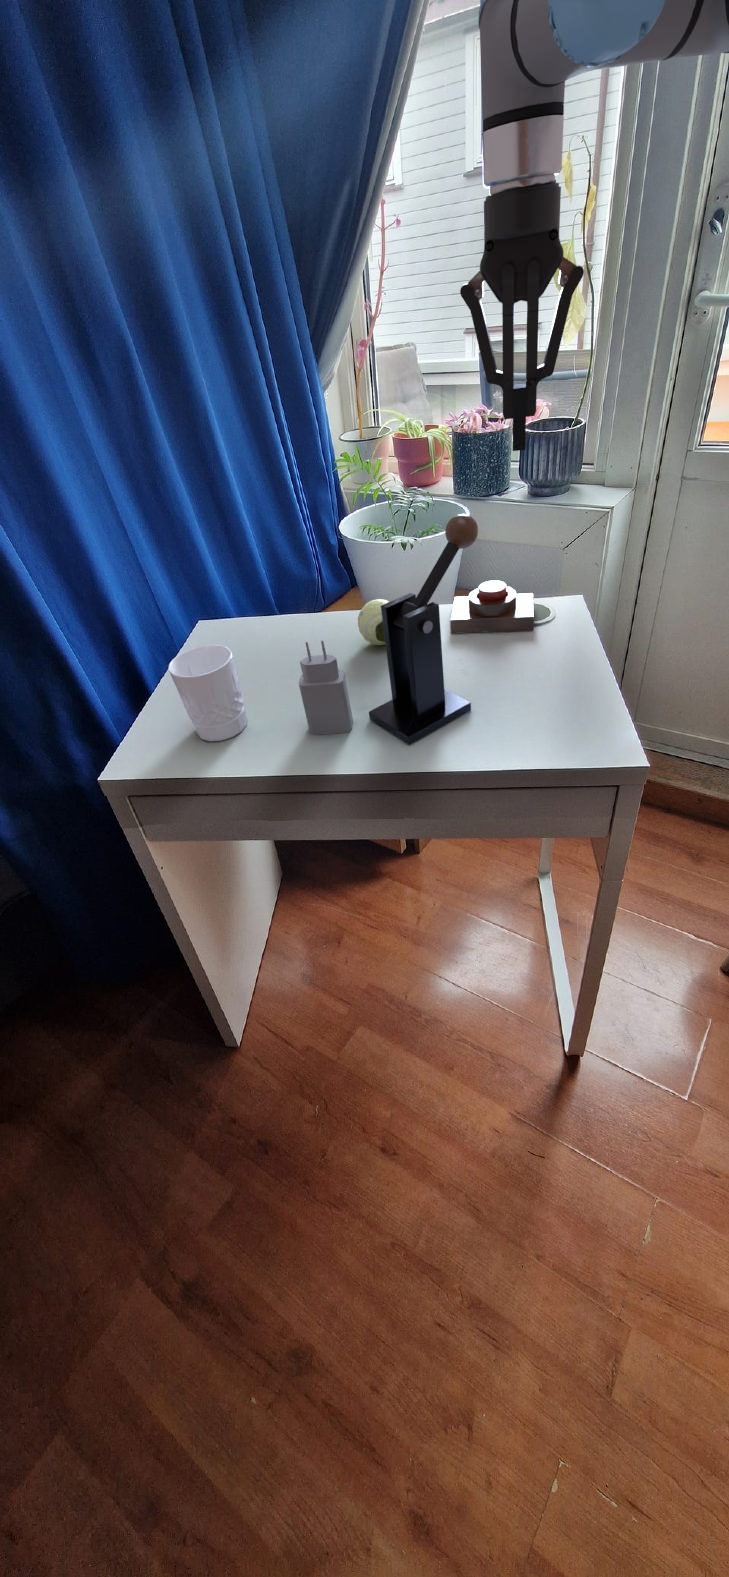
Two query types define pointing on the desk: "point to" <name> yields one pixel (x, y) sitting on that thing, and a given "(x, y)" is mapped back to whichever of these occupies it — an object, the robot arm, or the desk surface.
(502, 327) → the robot arm
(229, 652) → the white cup
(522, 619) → the button block
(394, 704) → the bracket
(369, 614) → the tennis ball
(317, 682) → the power adapter
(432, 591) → the lever
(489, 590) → the button
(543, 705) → the desk surface
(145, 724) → the desk surface
